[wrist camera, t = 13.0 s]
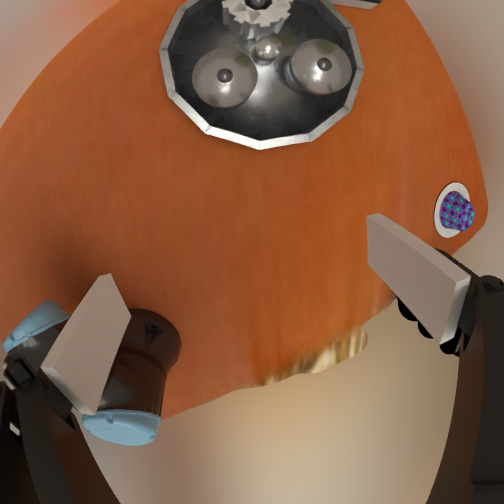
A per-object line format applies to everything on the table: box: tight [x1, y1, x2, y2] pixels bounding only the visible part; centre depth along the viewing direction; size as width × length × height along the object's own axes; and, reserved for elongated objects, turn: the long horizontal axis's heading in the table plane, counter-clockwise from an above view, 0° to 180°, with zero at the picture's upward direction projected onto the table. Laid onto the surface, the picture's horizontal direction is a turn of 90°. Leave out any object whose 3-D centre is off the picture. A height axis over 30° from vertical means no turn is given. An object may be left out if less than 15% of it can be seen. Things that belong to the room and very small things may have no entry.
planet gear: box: [222, 0, 293, 42], centre depth 25 cm, size 9×9×6 cm
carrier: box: [159, 0, 364, 150], centre depth 28 cm, size 27×27×8 cm
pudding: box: [434, 183, 475, 238], centre depth 42 cm, size 12×12×5 cm
